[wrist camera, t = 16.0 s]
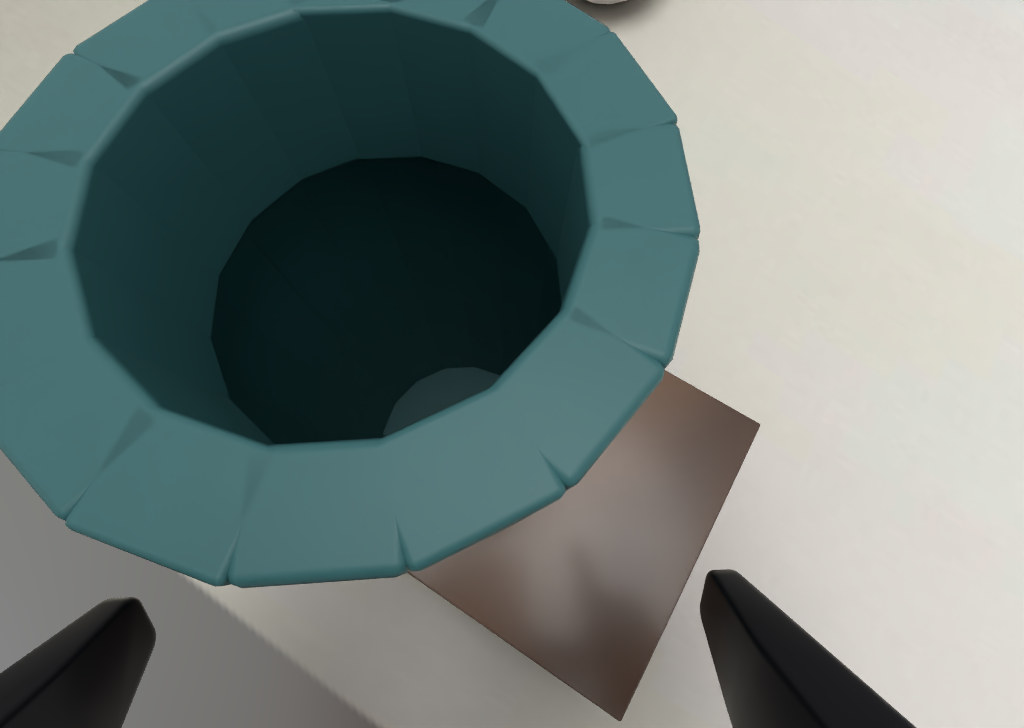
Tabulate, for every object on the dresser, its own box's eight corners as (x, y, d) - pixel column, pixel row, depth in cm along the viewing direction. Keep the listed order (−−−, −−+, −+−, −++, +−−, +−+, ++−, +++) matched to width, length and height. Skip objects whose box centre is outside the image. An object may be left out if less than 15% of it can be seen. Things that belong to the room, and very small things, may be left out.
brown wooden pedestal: (713, 443, 20) (761, 424, 17) (596, 681, 18) (620, 722, 14) (397, 259, 23) (376, 205, 19) (252, 442, 20) (193, 422, 16)
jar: (560, 533, 16) (774, 550, 3) (372, 546, 15) (-177, 617, 3) (544, 357, 17) (641, -67, 5) (376, 367, 17) (45, -49, 5)
